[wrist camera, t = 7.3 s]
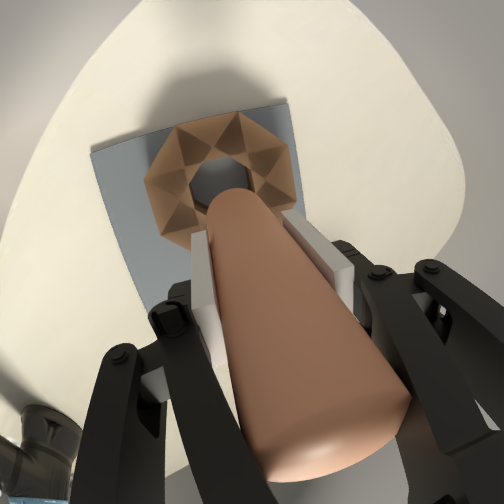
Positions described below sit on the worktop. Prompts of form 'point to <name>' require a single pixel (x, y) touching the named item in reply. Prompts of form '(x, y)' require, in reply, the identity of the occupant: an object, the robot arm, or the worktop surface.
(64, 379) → the worktop surface
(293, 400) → the tan round-topped peg
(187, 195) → the bead
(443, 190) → the worktop surface
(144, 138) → the mat
